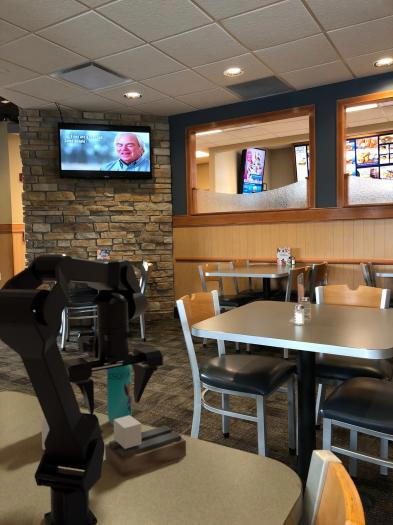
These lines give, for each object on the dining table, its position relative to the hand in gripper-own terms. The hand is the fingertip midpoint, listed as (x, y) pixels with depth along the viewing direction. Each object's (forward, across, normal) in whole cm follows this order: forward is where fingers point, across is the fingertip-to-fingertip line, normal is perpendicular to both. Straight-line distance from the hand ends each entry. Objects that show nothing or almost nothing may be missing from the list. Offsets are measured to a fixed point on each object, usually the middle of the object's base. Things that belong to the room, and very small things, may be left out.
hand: (114, 407), depth 82 cm
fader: (+9, -3, -1) cm, 9 cm away
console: (+12, -7, -1) cm, 14 cm away
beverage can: (+12, -10, -20) cm, 25 cm away
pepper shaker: (+12, +7, -17) cm, 22 cm away
